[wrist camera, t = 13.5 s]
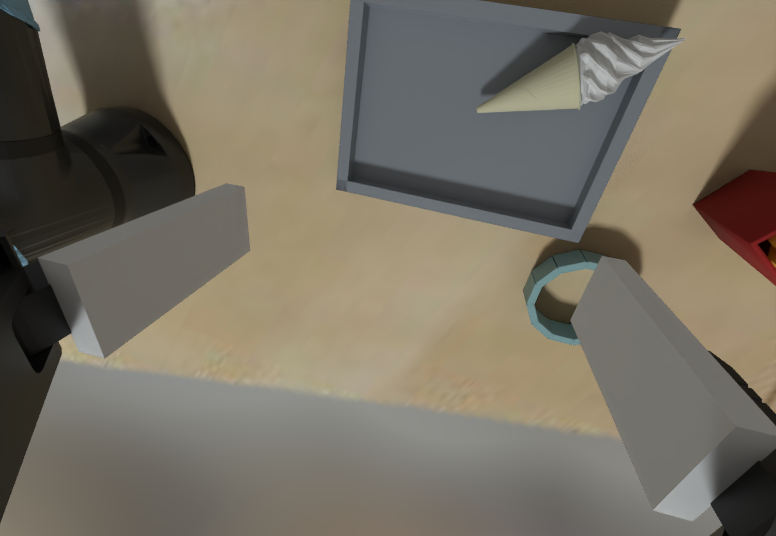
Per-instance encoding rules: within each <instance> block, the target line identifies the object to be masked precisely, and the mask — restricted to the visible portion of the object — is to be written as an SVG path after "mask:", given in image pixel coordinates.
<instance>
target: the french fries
mask: <svg viewBox="0 0 776 536" xmlns="http://www.w3.org/2000/svg"><path fill="white" fill-rule="evenodd" d="M693 206H694V207H695V209H696V210H697V211H698V212H699V214H700V215H701V216H702V217H703V219H704V220H705V221H706V222H707V224H708V225H709V226H710V227H711V229H712V230H713V231H714V232H715V234H716V235H717V236H718V238H719V239H720V240H722V241H723V242H724V243H725V244H726V245H728V246H729V247H730V248H731V249H732V250H734V251H735V252H736V253H737V254H738V255H740V256H741V257H742V258H743V259H744V260H746V261H747V262H748V263H749V264H750V265H751V266H753V267H754V268H755V269H756V270H757V271H759V272H760V273H761V274H762V275H763V276H765V277H766V278H767V279H768V280H769V281H771V282H772V283H773V284H774V285H775V286H776V173H774V172H765V171H757V170H749V171H747V172H745V173H744V174H742V175H741V176H739V177H737V178H736V179H734V180H732V181H731V182H729V183H727V184H726V185H724V186H723V187H721V188H719V189H718V190H716V191H714V192H713V193H711V194H710V195H708V196H706V197H705V198H703V199H701V200H700V201H698V202H696V203H695V204H693Z"/></svg>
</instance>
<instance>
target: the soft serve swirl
mask: <svg viewBox="0 0 776 536" xmlns="http://www.w3.org/2000/svg"><path fill="white" fill-rule="evenodd" d="M685 39H686V38H683V39H666V38H647V37H644V36H641V35H637V36H634V37H632V38H630V39H623V38H620V37H618V36H616V35H614V34H612V33H607V34H606V33H603V32H601V31H600V32H598V33H595V34H592V35H590V36H589V37H588V38H587V39H586V38H581V39H580V41H579V42H578V44H577V45H574V43H572V44H571V46H570V47H568V48H567V49H565V50H563V51H562V52H560V53H559V54H557V55H556V56H554V57H553V58H551V59H550V60H548V61H547V62H545V63H544V64H542V65H541V66H539V67H538V68H536V69H534V70H533V71H531V72H530V73H528V74H526V75H525V76H523V77H522V78H520V79H519V80H517V81H516V82H514V83H513V84H511V85H510V86H508V87H507V88H505V89H504V90H502V91H501V92H499V93H498V94H496V95H494V96H493V97H491V98H490V99H488V100H487V101H485V102H484V103H482V104H481V105H479V106H478V107H476V110H477V113H488V112H511V111H534V110H555V109H577V108H578V110H580V107H581V105H582V104H587V103H588V102H589V101H592V102H598V101H600V100H603V99H604V98H605V96H606V95H609V94H612V93H615V91H616V90H617V88H618V87H619V85H620V84H621V82H622V81H623V80H624V79H625V78H627V77H630V76H633V75H635V74H638V73H639V72H641V71H643V70H644V69H645V68H646V67H647V66H648V65H649V64H651V63H652V62H653V61H655V60H656V59H658V58H659V57H660V56H662V55H663V54H665V53H666V52H668V51H669V50H671V49H672V48H673V47H675V46H676V45H678V44H679V43H681V42H682V41H684V40H685Z"/></svg>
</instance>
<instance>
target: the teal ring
mask: <svg viewBox="0 0 776 536" xmlns="http://www.w3.org/2000/svg"><path fill="white" fill-rule="evenodd" d="M601 256H605V257H607V256H606V255H602V254H597V253H593V252H589V251H584V250H580V251H579V250H575V251H570V252H566V253H561V254H557V255H553V257H552V256H551V257H549V258H548V259H547V260H545V261H544V262H543V263H541V264H540V265H539V266H537V267H536V268H535V269H534V270H532V272H531V273H530V276H529V278H528V281H527V283H526V285H525V288H524V290H523V292H524V296H525V300H526V305H527V309H528V313H529V317H530V321H531V324H532V325H533V326H534V327H535V328H536V329H537V330H539V331H540V332H541V333H542V334H543V335H544V336H545V337H547V338H549V339H551V340H555V341H559V342H562V343H566V344H570V345H572V344H573V345H578V344H580V342H579V339H578V337H577V335H576V332H575V330H574V328H573V325H572V324H565V323H561V322H557V321H553V320H549V319H547V318H546V317H545V316H544V315H543V314H541V313H540V312H539V311H538V310H537V309H536V308H535V306H534V304H535V302H536V300H537V297H538V295H539V293H540V291H541V288H542V287H543V286H544V285H546V284H547V283H548V282H550V281H551V280H553V279H554V278H555V277H557V276H558V275H560V274H561V273H566V272H571V271H576V270H581V269H590V270H595V269H596V267H597V265H598V263H599V261H600V259H601Z"/></svg>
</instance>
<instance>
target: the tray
mask: <svg viewBox="0 0 776 536" xmlns="http://www.w3.org/2000/svg"><path fill="white" fill-rule="evenodd" d="M600 31H601V32H603V33H606V34H607V33H612V34H614V35H616V36H618V37H620V38H623V39H630V38H632V37H634V36H637V35H641V36H644V37H647V38H666V39H677V37H678V35H679V33H680V31H681V29H678V28H671V27H664V26H657V25H650V24H643V23H636V22H629V21H622V20H615V19H608V18H601V17H594V16H587V15H580V14H573V13H566V12H559V11H552V10H545V9H538V8H531V7H523V6H516V5H509V4H502V3H495V2H488V1H481V0H351V2H350V15H349V28H348V41H347V54H346V67H345V81H344V94H343V107H342V120H341V133H340V146H339V159H338V172H337V186H336V189H337V190H341V191H346V192H350V193H355V194H359V195H364V196H368V197H373V198H377V199H382V200H386V201H391V202H395V203H400V204H404V205H409V206H413V207H418V208H422V209H427V210H431V211H436V212H440V213H445V214H449V215H454V216H458V217H463V218H467V219H472V220H476V221H481V222H485V223H490V224H494V225H499V226H503V227H508V228H512V229H517V230H522V231H526V232H531V233H535V234H540V235H544V236H549V237H553V238H558V239H562V240H567V241H571V242H576V243H579V241H580V239H581V237H582V235H583V233H584V231H585V229H586V227H587V225H588V223H589V221H590V218H591V216H592V214H593V212H594V210H595V208H596V206H597V204H598V202H599V200H600V198H601V196H602V193H603V191H604V189H605V187H606V185H607V183H608V181H609V179H610V177H611V175H612V173H613V170H614V168H615V166H616V164H617V162H618V160H619V158H620V156H621V154H622V152H623V150H624V147H625V145H626V143H627V141H628V139H629V137H630V135H631V133H632V131H633V129H634V127H635V125H636V122H637V120H638V118H639V116H640V114H641V112H642V110H643V108H644V106H645V104H646V102H647V99H648V97H649V95H650V93H651V91H652V89H653V87H654V85H655V83H656V81H657V79H658V77H659V74H660V72H661V70H662V68H663V66H664V64H665V62H666V60H667V58H668V56H669V54H670V51H671V50H669V51H668V52H666V53H665V54H663V55H662V56H660V57H659V58H658V59H656V60H655V61H653V62H652V63H651V64H649V65H648V66H647V67H646V68H645V69H644V70H643V71H641V72H639V73H638V74H635V75H633V76H630V77H627V78H625V79H624V80H623V81H622V82H621V84H620V85H619V87H618V88H617V90H616V91H615V93H612V94H609V95H606V96H605V98H604V99H603V100H600V101H598V102H592V101H589V102H588V103H587V104H582V105H581V107H580V110H578V108H577V109H555V110H534V111H511V112H488V113H477V110H476V107H478V106H479V105H481V104H482V103H484V102H485V101H487V100H488V99H490V98H491V97H493V96H494V95H496V94H498V93H499V92H501V91H502V90H504V89H505V88H507V87H508V86H510V85H511V84H513V83H514V82H516V81H517V80H519V79H520V78H522V77H523V76H525V75H526V74H528V73H530V72H531V71H533V70H534V69H536V68H538V67H539V66H541V65H542V64H544V63H545V62H547V61H548V60H550V59H551V58H553V57H554V56H556V55H557V54H559V53H560V52H562V51H563V50H565V49H567V48H568V47H570V46H571V44H572V43H574V45H577V44H578V42H579V41H580V39H581V38H586V39H587V38H588V37H589V36H590V35H592V34H595V33H598V32H600Z"/></svg>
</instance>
